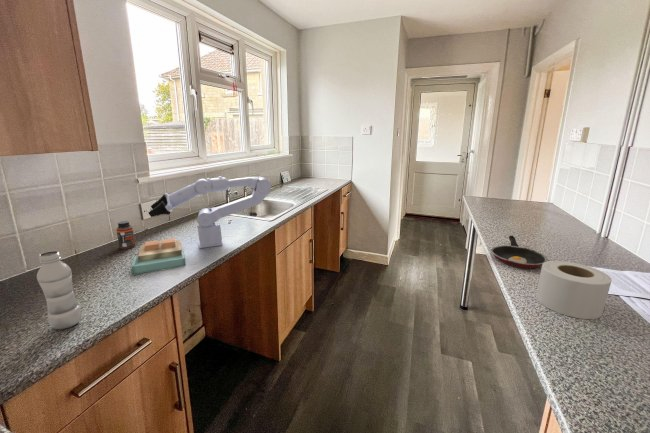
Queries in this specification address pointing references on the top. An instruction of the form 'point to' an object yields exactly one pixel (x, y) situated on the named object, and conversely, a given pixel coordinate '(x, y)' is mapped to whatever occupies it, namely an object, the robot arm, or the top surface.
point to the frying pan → (518, 255)
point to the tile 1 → (152, 245)
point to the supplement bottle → (125, 235)
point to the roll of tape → (573, 289)
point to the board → (160, 252)
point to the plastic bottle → (58, 291)
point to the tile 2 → (168, 243)
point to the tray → (158, 264)
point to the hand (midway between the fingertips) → (151, 211)
